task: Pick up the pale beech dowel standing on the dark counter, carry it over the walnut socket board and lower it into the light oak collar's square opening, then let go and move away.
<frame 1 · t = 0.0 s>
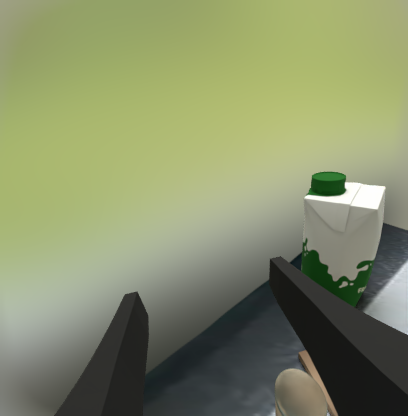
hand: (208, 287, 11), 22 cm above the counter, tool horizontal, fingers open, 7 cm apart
milk carton: (330, 290, 35), on the counter
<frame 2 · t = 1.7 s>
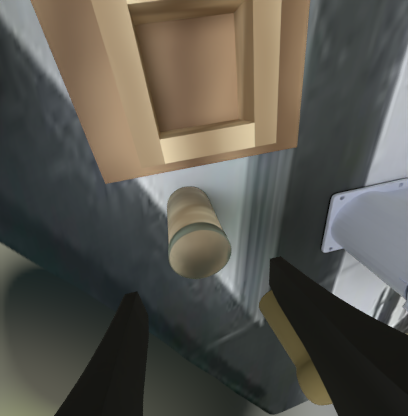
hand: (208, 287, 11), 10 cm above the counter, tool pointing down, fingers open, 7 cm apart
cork: (278, 299, 29), on the counter
socket board: (191, 79, 14), on the counter
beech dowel: (188, 206, 19), on the counter
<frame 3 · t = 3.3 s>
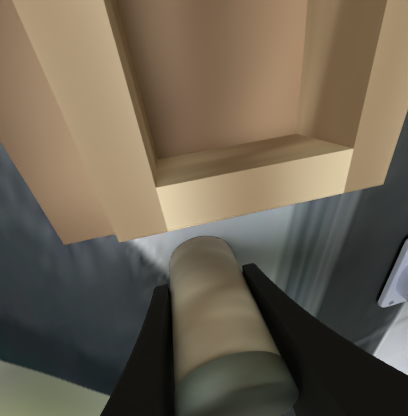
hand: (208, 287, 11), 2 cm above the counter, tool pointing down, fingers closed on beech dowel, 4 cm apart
socket board: (215, 62, 8), on the counter
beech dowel: (201, 262, 13), on the counter, touching gripper
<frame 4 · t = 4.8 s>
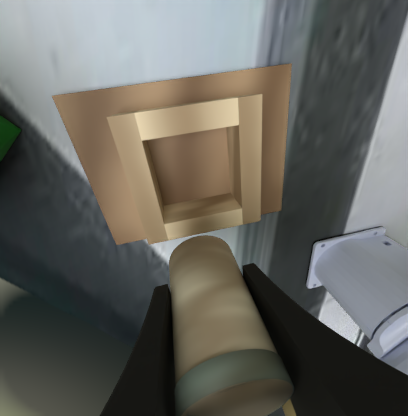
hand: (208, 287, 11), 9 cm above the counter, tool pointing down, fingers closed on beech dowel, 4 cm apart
socket board: (191, 162, 17), on the counter
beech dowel: (201, 261, 13), point 7 cm above the counter, touching gripper
when the fingers open (6 cm above the counter, at t = 6.6 s): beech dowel drops 2 cm, resting on socket board.
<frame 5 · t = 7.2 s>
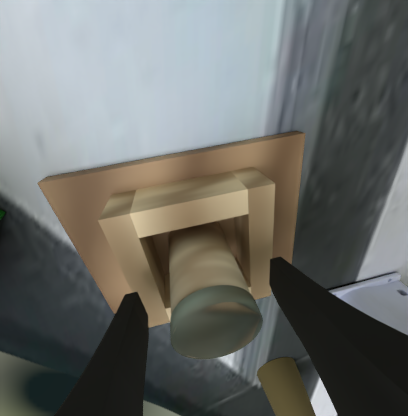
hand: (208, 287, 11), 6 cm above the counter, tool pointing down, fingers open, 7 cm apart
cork: (275, 367, 30), on the counter
socket board: (193, 229, 16), on the counter
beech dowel: (195, 237, 15), point 1 cm above the counter, touching socket board
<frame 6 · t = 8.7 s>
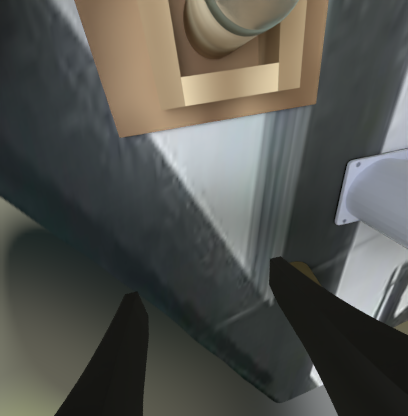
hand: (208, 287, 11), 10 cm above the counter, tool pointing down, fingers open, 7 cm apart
socket board: (210, 24, 14), on the counter
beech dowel: (213, 21, 13), point 1 cm above the counter, touching socket board
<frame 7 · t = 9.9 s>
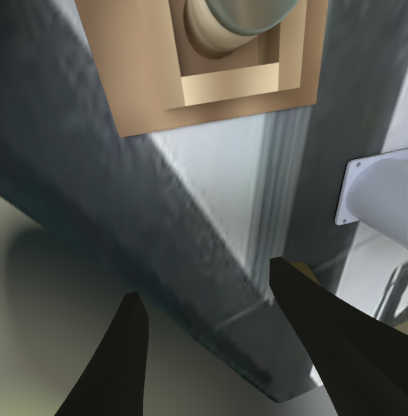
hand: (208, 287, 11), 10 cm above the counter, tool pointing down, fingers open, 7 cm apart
socket board: (210, 24, 14), on the counter
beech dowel: (214, 21, 13), point 1 cm above the counter, touching socket board
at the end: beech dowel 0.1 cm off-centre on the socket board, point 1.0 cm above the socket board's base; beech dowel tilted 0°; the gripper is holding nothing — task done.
